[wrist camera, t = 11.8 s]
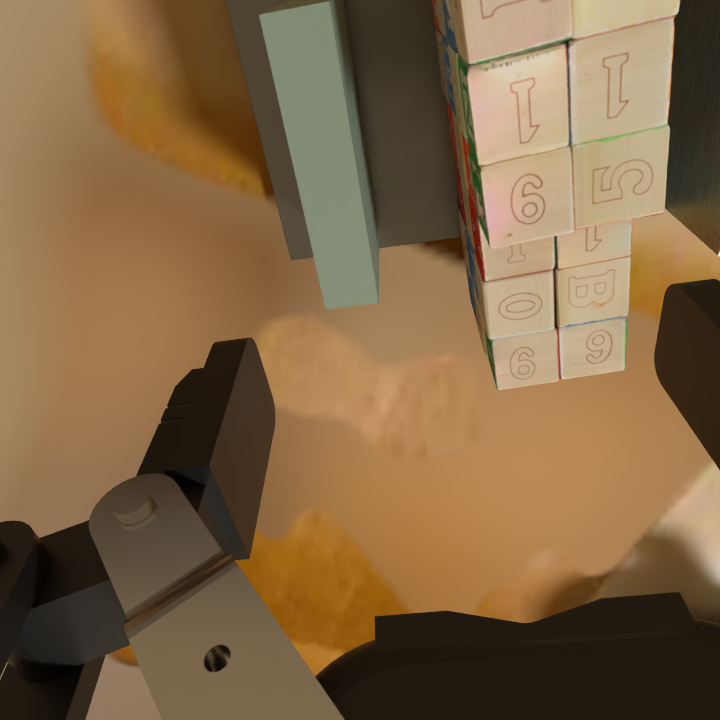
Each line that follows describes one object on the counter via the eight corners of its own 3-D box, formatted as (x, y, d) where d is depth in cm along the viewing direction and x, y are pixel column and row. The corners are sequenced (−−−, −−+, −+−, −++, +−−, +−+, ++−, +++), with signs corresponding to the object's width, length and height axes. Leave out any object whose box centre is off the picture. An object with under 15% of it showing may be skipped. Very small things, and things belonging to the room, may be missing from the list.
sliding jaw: (341, -11, 26) (328, 1, 20) (379, 234, 33) (378, 302, 27) (289, 0, 27) (258, 14, 20) (336, 240, 33) (325, 309, 27)
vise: (762, -121, 25) (925, -154, 17) (704, 196, 33) (798, 265, 25) (226, -14, 27) (170, -3, 20) (293, 253, 35) (269, 331, 28)
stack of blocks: (572, 282, 35) (650, 415, 25) (469, 300, 36) (503, 435, 26) (568, -188, 23) (714, -300, 13) (412, -142, 24) (436, -214, 14)
